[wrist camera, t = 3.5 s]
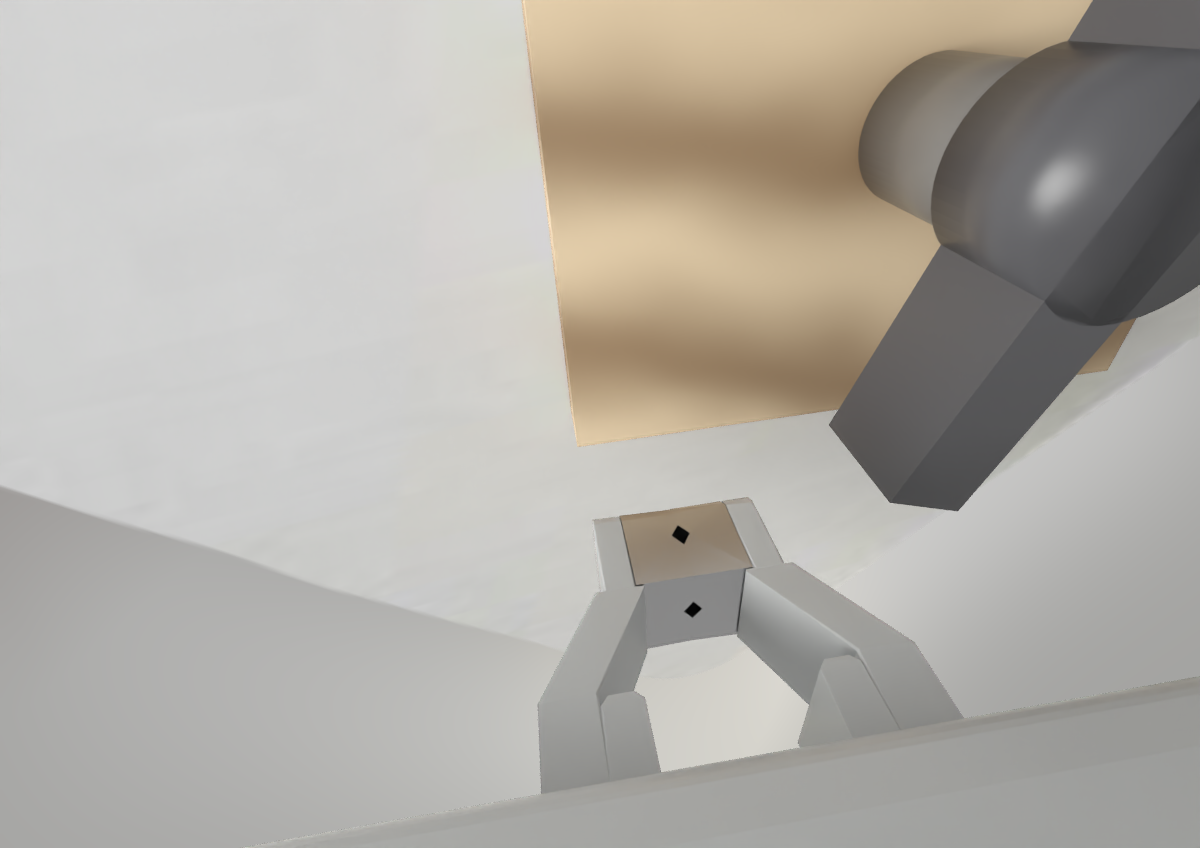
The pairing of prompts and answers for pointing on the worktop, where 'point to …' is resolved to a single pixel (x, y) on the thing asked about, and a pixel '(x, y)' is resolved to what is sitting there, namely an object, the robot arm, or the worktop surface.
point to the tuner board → (735, 196)
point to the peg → (1024, 234)
